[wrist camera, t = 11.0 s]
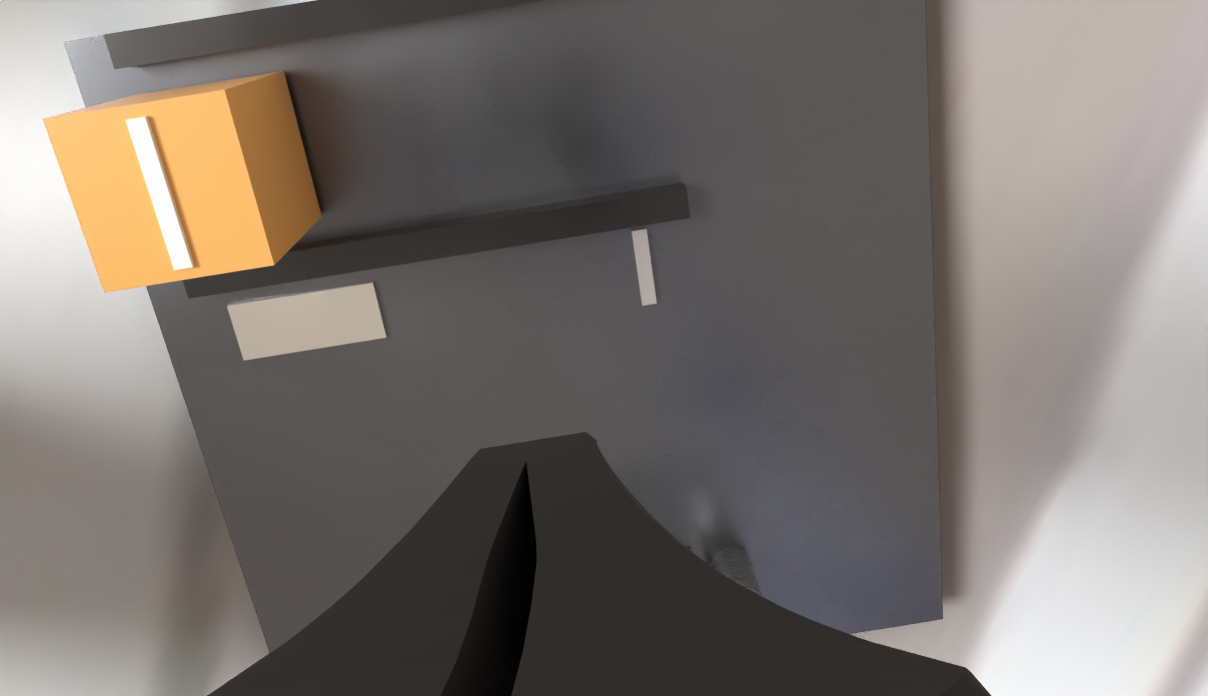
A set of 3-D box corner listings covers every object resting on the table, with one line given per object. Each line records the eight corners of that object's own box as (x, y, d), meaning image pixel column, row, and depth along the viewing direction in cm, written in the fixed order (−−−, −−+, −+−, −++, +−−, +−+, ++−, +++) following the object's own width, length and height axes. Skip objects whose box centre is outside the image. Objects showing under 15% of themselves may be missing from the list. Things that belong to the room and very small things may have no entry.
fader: (322, 217, 19) (272, 266, 15) (181, 239, 19) (101, 294, 16) (283, 70, 18) (222, 90, 14) (135, 95, 18) (39, 119, 15)
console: (927, 594, 24) (1018, 739, 20) (303, 694, 24) (244, 862, 20) (903, -93, 19) (1023, -120, 14) (88, 39, 19) (-67, 56, 14)
